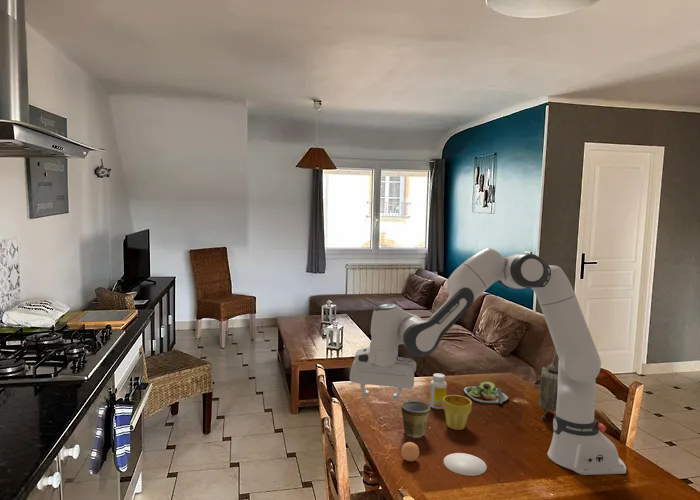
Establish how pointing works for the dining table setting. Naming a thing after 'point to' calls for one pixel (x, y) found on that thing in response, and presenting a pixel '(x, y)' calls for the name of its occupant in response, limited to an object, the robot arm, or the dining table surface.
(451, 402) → the plant pot
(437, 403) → the supplement bottle
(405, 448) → the ball
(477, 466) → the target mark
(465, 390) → the avocado toast plate
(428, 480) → the dining table surface
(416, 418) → the ceramic cup
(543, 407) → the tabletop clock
